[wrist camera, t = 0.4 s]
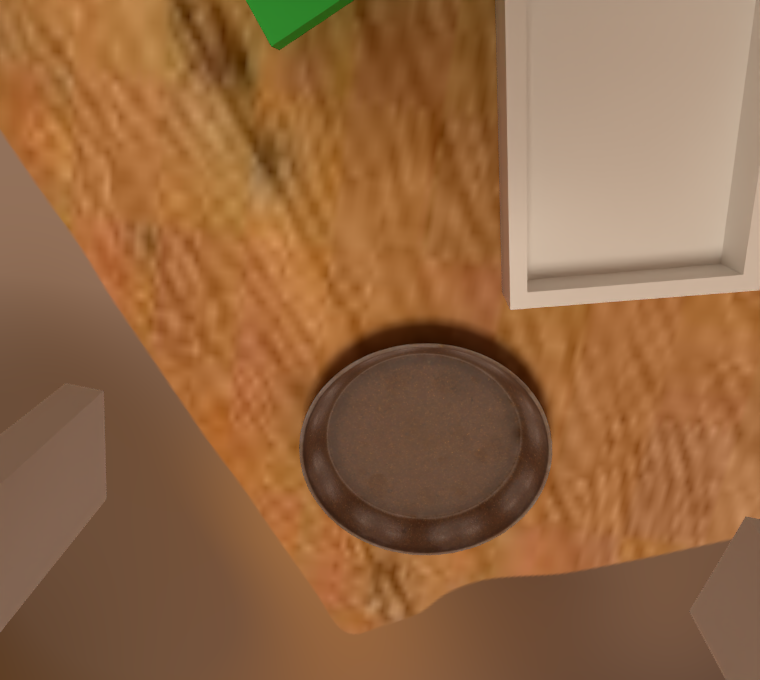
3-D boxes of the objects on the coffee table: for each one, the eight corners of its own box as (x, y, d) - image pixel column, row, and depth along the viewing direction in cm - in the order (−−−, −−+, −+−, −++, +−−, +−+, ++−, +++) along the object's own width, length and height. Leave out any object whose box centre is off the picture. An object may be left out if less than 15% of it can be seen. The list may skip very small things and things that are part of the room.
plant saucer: (591, 388, 38) (604, 410, 35) (473, 558, 45) (477, 588, 42) (362, 286, 36) (357, 300, 34) (275, 479, 43) (265, 504, 40)
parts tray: (494, -31, 29) (503, -49, 25) (775, -71, 27) (823, -96, 24) (502, 292, 35) (510, 309, 32) (727, 273, 34) (759, 290, 31)
